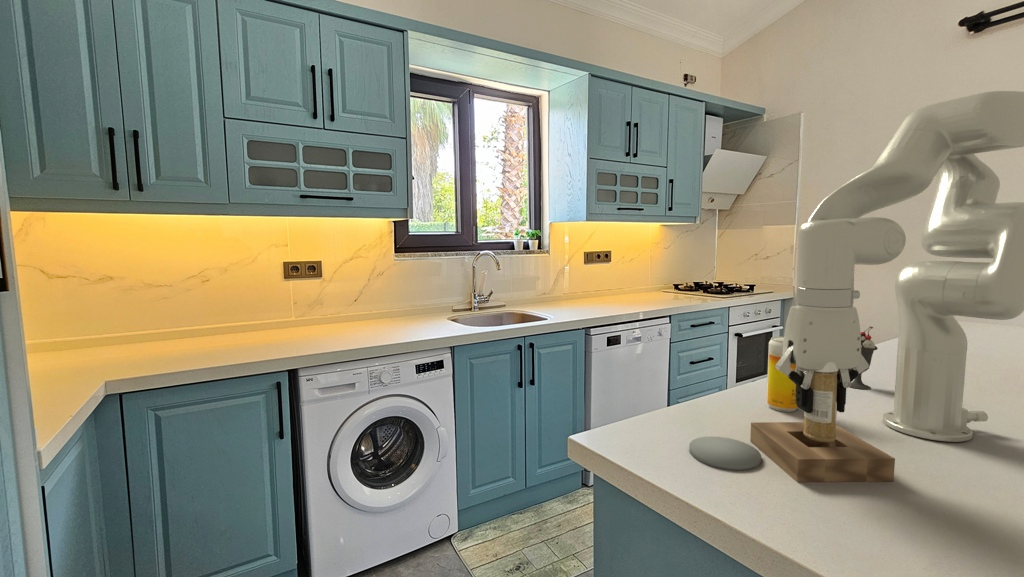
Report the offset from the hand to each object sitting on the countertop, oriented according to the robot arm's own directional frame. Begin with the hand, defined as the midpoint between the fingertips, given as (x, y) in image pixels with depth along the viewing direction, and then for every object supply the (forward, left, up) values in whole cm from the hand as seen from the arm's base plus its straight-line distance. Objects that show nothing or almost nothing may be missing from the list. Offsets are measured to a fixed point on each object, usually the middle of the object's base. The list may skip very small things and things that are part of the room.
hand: (820, 408), depth 76 cm
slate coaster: (+15, -2, -9) cm, 17 cm away
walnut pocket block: (+1, 0, -9) cm, 9 cm away
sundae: (-33, -38, -9) cm, 51 cm away
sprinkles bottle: (0, 0, -5) cm, 5 cm away
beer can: (-7, -24, -9) cm, 26 cm away
